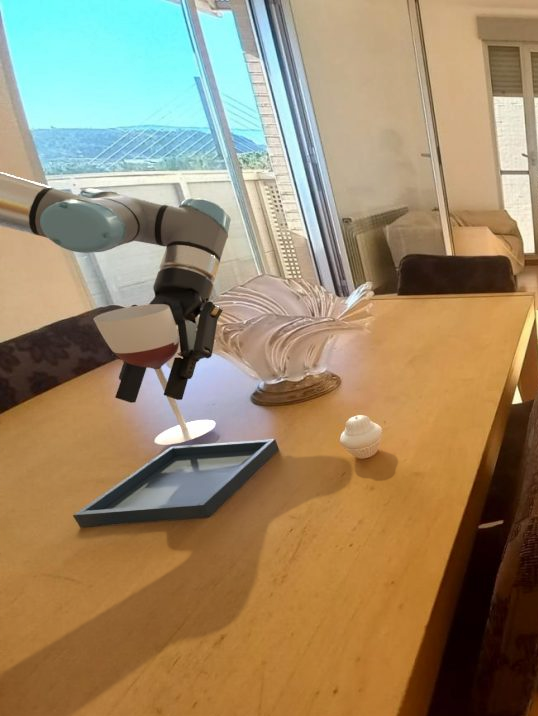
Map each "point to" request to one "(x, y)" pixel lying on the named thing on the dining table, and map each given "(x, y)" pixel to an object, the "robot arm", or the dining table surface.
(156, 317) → the wineglass
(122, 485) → the tray
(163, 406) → the dining table surface
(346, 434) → the muffin
